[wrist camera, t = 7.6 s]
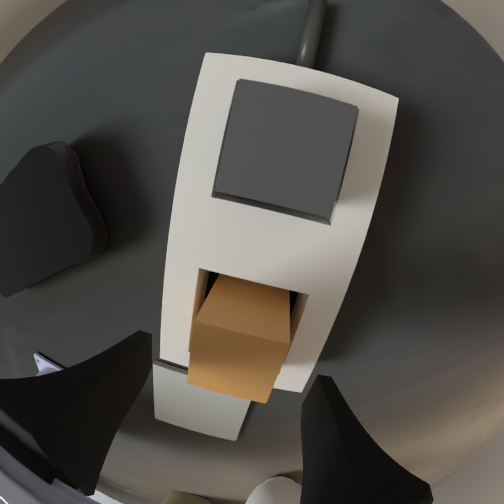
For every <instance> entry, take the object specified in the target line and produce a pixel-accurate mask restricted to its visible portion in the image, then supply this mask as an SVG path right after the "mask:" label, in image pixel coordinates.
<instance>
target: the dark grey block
mask: <svg viewBox="0 0 504 504" xmlns="http://www.w3.org/2000/svg"><path fill="white" fill-rule="evenodd" d="M357 107H358V106H355V105H352V104H349V103H345V102H342V101H339V100H336V99H332V98H329V97H325V96H322V95H318V94H314V93H310V92H306V91H302V90H298V89H294V88H289V87H285V86H280V85H275V84H270V83H265V82H259V81H253V80H246V79H239V83H238V87H237V91H236V95H235V99H234V103H233V107H232V111H231V116H230V120H229V124H228V129H227V133H226V138H225V142H224V147H223V152H222V156H221V161H220V166H219V171H218V176H217V181H216V186H215V191H217V192H222V193H226V194H231V195H236V196H240V197H245V198H249V199H253V200H258V201H262V202H266V203H270V204H274V205H279V206H283V207H287V208H291V209H295V210H299V211H303V212H306V213H310V214H314V215H318V216H322V217H325V218H329V219H331V216H332V212H333V208H334V205H335V201H336V197H337V193H338V190H339V186H340V182H341V178H342V174H343V170H344V166H345V162H346V158H347V153H348V149H349V145H350V140H351V136H352V131H353V127H354V122H355V117H356V112H357Z"/></svg>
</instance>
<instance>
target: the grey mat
mask: <svg viewBox="0 0 504 504" xmlns="http://www.w3.org/2000/svg"><path fill="white" fill-rule="evenodd" d="M187 376H188V370H184V369H181V368H178V367H175V366H172V365H168V364H165V363H162V362H159V361H157V360H155V362H154V363H153V384H154V409H155V419H158V420H161V421H164V422H167V423H170V424H173V425H176V426H179V427H182V428H186V429H189V430H192V431H196V432H200V433H203V434H207V435H211V436H215V437H219V438H223V439H228V440H232V441H236V439H237V436H238V434H239V431H240V428H241V426H242V423H243V420H244V418H245V415H246V412H247V410H248V407H249V404H250V402H251V400H247V399H242V398H238V397H234V396H230V395H226V394H222V393H218V392H214V391H210V390H207V389H203V388H200V387H196V386H193V385H190V384H187Z"/></svg>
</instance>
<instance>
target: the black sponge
mask: <svg viewBox="0 0 504 504" xmlns="http://www.w3.org/2000/svg"><path fill="white" fill-rule="evenodd" d="M107 241H108V230H107V226H106V224H105V222H104V220H103V218H102V216H101V213H100V211H99V210H98V208H97V206H96V204H95V203H94V201H93V199H92V197H91V196H90V194H89V192H88V190H87V188H86V185H85V181H84V177H83V174H82V171H81V167H80V163H79V157H78V155H77V154H76V153H75V152H74V150H73V149H72V148H71V147H70V146H69V145H68V144H67V143H64V142H59V141H58V142H53V143H49V144H45V145H41V146H37V147H34V148H32V149H31V150H30V151H28V152H27V153H26V154H25V156H24V157H23V158H22V159H21V160H20V161H19V163H18V164H17V166H16V167H15V168H14V169H13V170H12V171H11V172H10V173H9V174H8V176H7V177H6V179H5V180H4V182H3V183H2V184H1V185H0V294H1V295H2V296H4V297H10V296H11V295H13V294H16V293H18V292H21V291H22V290H24V289H25V288H27V287H29V286H31V285H33V284H35V283H37V282H38V281H40V280H42V279H44V278H46V277H48V276H50V275H52V274H54V273H56V272H58V271H60V270H62V269H64V268H67V267H70V266H72V265H76V264H79V263H82V262H85V261H88V260H92V259H95V258H97V257H98V256H99V255H100V254H101V253H102V251H103V250H104V248H105V245H106V243H107Z"/></svg>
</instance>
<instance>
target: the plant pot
mask: <svg viewBox="0 0 504 504" xmlns="http://www.w3.org/2000/svg"><path fill="white" fill-rule="evenodd" d="M161 504H212V503H211V502H210V501H209V500H207V499H205V498H202V497H199V496H196V495H193V494H188V493H183V492H172V493H171V494H170V495H169V496H168V497H167V498H166V499H165V500H164V501H163V502H162V503H161Z"/></svg>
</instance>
